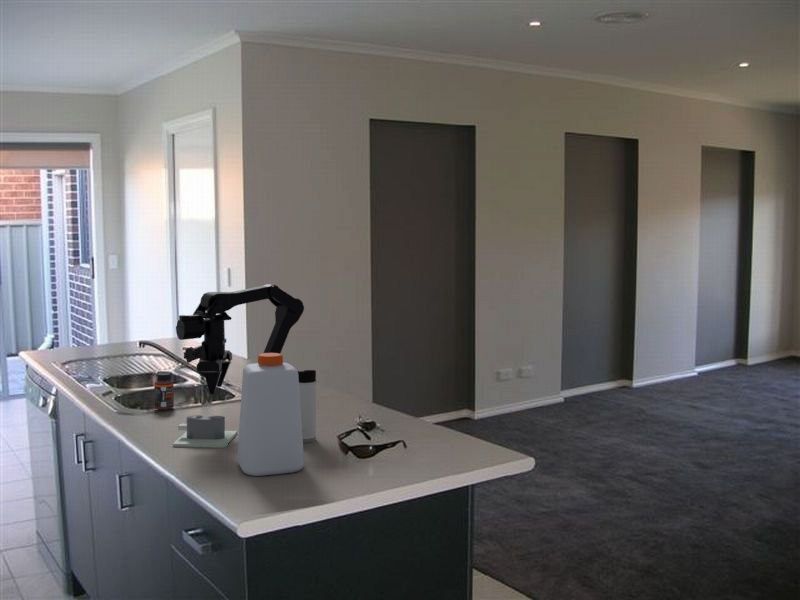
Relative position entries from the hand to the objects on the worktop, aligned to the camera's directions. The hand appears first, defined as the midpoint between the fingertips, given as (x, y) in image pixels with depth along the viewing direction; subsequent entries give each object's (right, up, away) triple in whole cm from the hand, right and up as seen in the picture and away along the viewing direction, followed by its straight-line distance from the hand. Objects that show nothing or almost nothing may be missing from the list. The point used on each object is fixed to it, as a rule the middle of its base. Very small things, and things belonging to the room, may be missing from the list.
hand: (215, 390), depth 224 cm
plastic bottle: (+21, -15, -31) cm, 41 cm away
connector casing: (-1, -12, -9) cm, 15 cm away
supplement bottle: (-23, -9, +26) cm, 36 cm away
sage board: (-1, -13, -9) cm, 15 cm away
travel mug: (+26, -13, -8) cm, 30 cm away
